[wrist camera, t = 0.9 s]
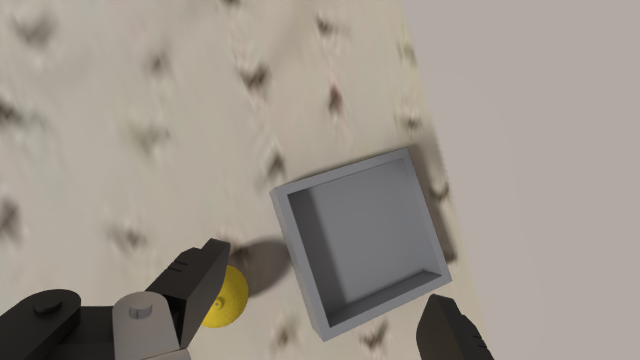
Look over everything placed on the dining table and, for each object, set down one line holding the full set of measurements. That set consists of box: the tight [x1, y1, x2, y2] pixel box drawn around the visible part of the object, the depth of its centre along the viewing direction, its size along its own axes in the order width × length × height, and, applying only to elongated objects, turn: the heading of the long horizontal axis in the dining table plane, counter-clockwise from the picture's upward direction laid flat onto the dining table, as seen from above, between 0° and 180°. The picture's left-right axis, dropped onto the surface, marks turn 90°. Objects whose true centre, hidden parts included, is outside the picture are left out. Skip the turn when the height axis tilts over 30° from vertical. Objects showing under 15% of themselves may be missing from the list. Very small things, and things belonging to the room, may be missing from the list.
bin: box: [269, 147, 452, 342], centre depth 37 cm, size 16×16×4 cm
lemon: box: [201, 265, 249, 328], centre depth 30 cm, size 6×6×8 cm
